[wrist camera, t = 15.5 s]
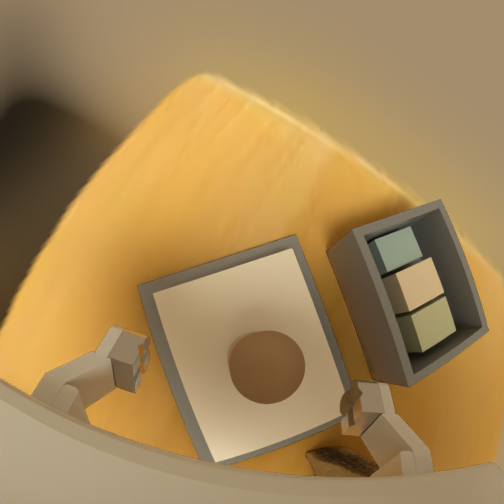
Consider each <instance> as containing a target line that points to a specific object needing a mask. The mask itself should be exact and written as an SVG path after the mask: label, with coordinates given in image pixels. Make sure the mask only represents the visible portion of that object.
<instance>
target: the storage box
mask: <svg viewBox="0 0 504 504" xmlns="http://www.w3.org/2000/svg"><path fill="white" fill-rule="evenodd" d="M326 253H327V256H328V258H329V261H330V263H331V266H332V268H333V271H334V273H335V276H336V279H337V281H338V284H339V286H340V289H341V292H342V294H343V297H344V300H345V302H346V305H347V308H348V310H349V313H350V316H351V318H352V321H353V324H354V327H355V330H356V332H357V335H358V338H359V341H360V344H361V347H362V350H363V353H364V355H365V358H366V361H367V364H368V367H369V370H370V373H371V377H372V380H377V381H381V382H386V383H390V384H395V385H399V386H404V387H410V386H412V385H414V384H415V383H417V382H418V381H420V380H421V379H423V378H425V377H426V376H428V375H429V374H431V373H432V372H434V371H435V370H437V369H438V368H440V367H441V366H443V365H444V364H446V363H447V362H448V361H450V360H451V359H453V358H454V357H455V356H457V355H458V354H460V353H461V352H462V351H464V350H465V349H466V348H468V347H469V346H470V345H472V344H473V343H474V342H475V341H477V340H478V339H479V338H481V337H482V336H483V335H484V334H486V333H487V332H488V331H489V329H488V325H487V322H486V318H485V315H484V311H483V308H482V304H481V301H480V298H479V294H478V291H477V288H476V285H475V282H474V279H473V276H472V273H471V271H470V268H469V265H468V262H467V260H466V257H465V254H464V252H463V249H462V247H461V244H460V242H459V239H458V237H457V234H456V232H455V230H454V227H453V225H452V223H451V220H450V218H449V216H448V214H447V211H446V209H445V207H444V205H443V203H442V201H441V199H439V200H436V201H433V202H430V203H427V204H424V205H422V206H419V207H416V208H413V209H410V210H407V211H404V212H401V213H398V214H395V215H392V216H389V217H387V218H384V219H381V220H378V221H375V222H372V223H369V224H366V225H363V226H360V227H357V228H354V229H352V230H350V231H349V232H348V233H347V234H346V235H345V236H344V237H342V238H341V239H340V240H339V241H338V242H337V243H336V244H334V245H333V246H332V247H331V248H330V249H329V250H327V251H326Z"/></svg>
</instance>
